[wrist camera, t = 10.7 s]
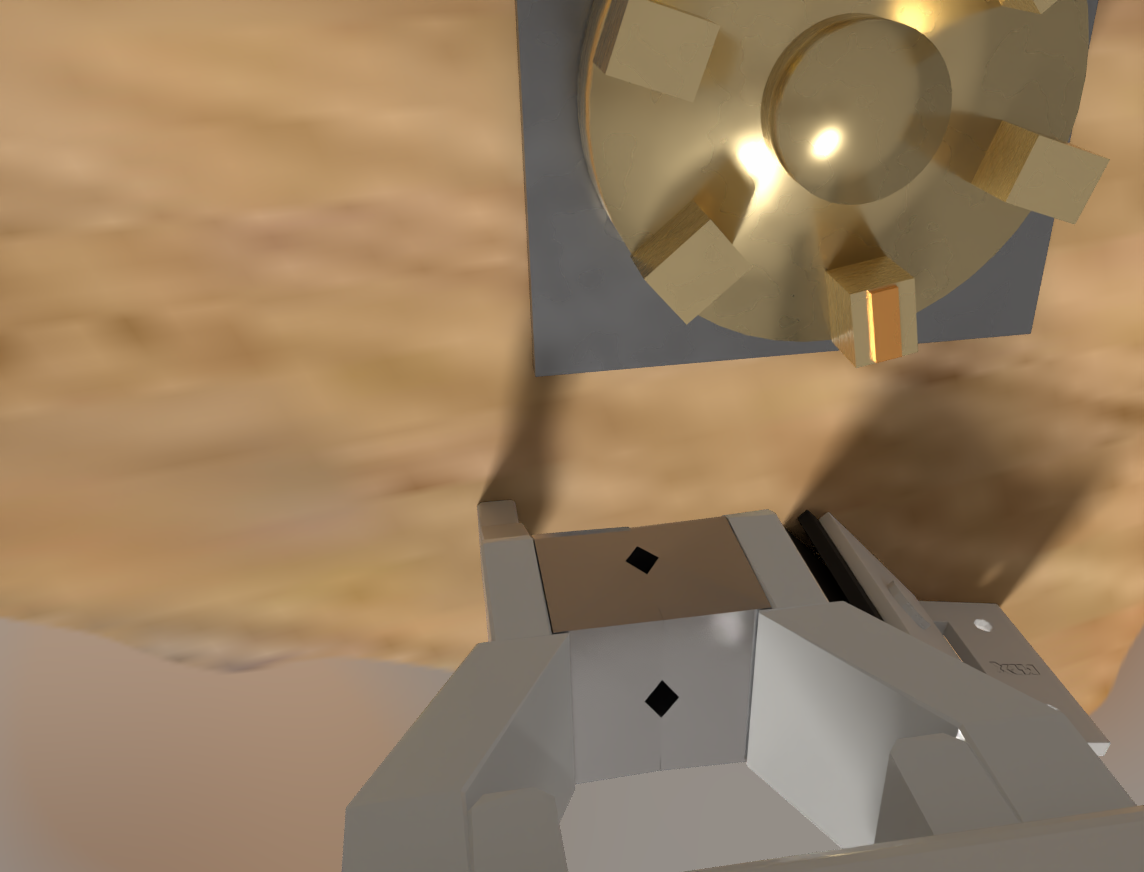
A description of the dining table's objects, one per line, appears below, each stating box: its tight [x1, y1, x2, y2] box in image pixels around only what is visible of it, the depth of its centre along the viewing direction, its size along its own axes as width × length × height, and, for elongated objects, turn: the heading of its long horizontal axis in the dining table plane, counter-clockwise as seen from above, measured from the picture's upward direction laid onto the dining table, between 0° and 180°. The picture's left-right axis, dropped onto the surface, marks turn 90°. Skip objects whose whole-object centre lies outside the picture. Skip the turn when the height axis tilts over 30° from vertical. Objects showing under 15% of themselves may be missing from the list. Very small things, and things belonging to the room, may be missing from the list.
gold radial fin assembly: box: [577, 0, 1110, 368], centre depth 36 cm, size 18×18×6 cm
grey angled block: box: [477, 500, 530, 598], centre depth 43 cm, size 7×2×8 cm, turn 1°
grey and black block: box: [785, 510, 1110, 756], centre depth 48 cm, size 14×5×10 cm, turn 56°
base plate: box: [515, 0, 1098, 377], centre depth 39 cm, size 22×22×1 cm
